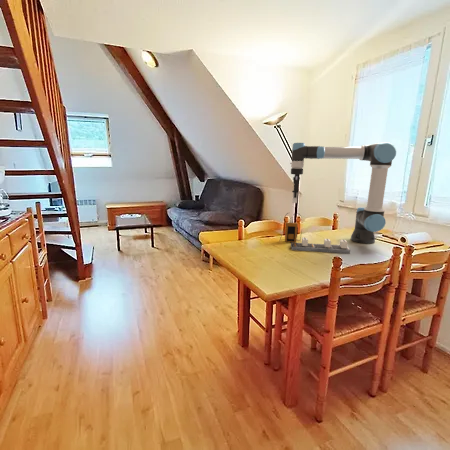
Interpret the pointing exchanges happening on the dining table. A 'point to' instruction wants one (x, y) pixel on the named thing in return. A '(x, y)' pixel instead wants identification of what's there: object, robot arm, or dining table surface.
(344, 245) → the breaker
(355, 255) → the dining table surface
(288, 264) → the dining table surface
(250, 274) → the dining table surface
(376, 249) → the dining table surface
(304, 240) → the breaker
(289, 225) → the multimeter
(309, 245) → the panel
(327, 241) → the block
